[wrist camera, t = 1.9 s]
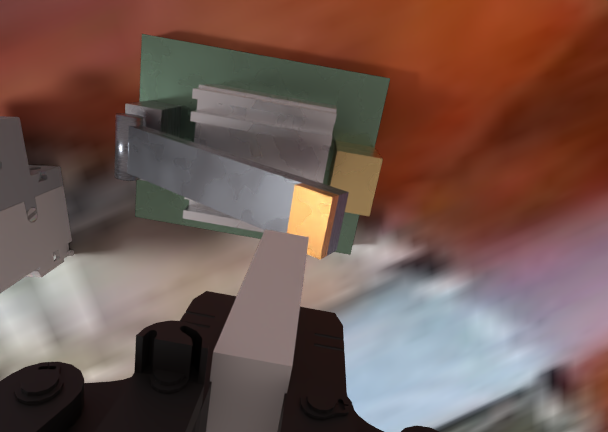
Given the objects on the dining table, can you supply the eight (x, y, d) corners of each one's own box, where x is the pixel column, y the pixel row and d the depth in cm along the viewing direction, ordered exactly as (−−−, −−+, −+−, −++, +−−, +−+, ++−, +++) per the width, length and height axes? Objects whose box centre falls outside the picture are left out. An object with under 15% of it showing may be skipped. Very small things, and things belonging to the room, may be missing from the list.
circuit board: (145, 209, 36) (102, 240, 29) (153, 36, 31) (105, 24, 24) (349, 245, 36) (354, 284, 29) (386, 78, 31) (403, 78, 24)
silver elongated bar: (130, 172, 28) (105, 175, 27) (132, 113, 27) (105, 112, 25) (337, 257, 20) (318, 269, 19) (354, 180, 19) (334, 186, 18)
